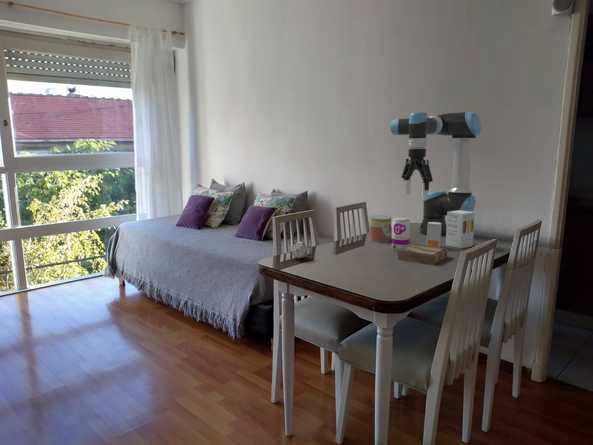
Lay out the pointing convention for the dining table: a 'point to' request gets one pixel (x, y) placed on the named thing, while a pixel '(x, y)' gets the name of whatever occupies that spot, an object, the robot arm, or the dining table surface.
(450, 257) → the dining table surface
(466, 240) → the supplement box
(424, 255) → the tray
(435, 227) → the skincare box
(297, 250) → the game die
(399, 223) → the supplement can
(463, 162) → the robot arm
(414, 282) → the dining table surface
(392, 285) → the dining table surface
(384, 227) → the canned food
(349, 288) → the dining table surface
